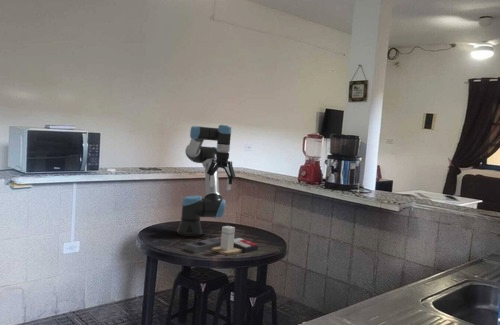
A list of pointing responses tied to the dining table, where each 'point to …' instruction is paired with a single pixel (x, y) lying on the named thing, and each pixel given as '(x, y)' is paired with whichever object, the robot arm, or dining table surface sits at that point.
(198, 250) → the grey handheld radio
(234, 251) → the wooden board
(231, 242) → the block
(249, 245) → the calculator
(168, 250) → the dining table surface
